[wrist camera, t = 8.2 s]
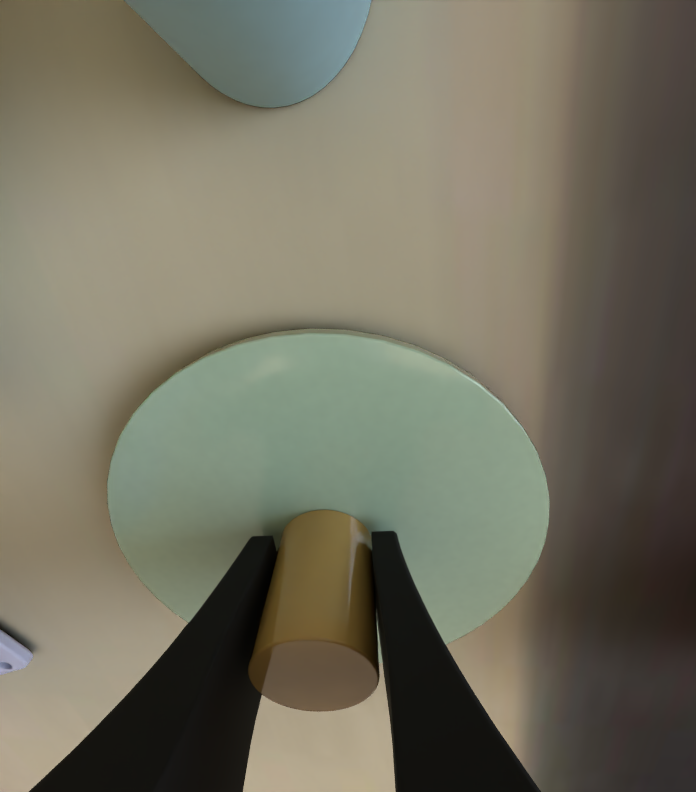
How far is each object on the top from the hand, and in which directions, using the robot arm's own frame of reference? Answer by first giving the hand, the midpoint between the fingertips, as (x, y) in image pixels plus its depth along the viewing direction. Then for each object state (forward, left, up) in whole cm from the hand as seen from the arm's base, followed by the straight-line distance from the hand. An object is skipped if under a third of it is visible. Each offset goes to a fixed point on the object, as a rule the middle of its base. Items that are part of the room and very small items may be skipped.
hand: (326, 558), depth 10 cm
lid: (0, 0, -1) cm, 1 cm away
